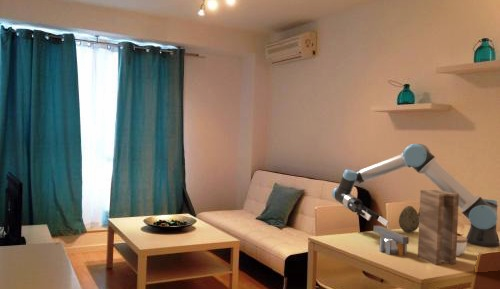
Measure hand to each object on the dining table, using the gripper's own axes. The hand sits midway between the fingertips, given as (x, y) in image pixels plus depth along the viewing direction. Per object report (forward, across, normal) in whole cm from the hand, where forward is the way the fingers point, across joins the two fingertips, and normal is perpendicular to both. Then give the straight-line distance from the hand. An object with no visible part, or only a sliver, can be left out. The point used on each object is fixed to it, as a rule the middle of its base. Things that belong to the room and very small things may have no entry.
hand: (378, 221), depth 215 cm
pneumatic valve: (-14, -56, +2) cm, 58 cm away
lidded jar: (+32, -18, +3) cm, 37 cm away
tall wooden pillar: (+36, -2, 0) cm, 36 cm away
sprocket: (+19, +5, -7) cm, 21 cm away
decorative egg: (-7, -34, -3) cm, 35 cm away
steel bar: (+15, +6, -2) cm, 16 cm away
